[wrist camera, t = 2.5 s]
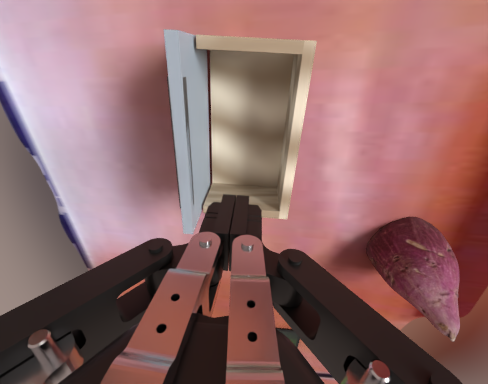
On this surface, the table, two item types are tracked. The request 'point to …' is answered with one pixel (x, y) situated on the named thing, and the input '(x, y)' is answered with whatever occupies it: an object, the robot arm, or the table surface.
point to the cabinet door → (189, 122)
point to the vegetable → (419, 269)
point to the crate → (257, 117)
